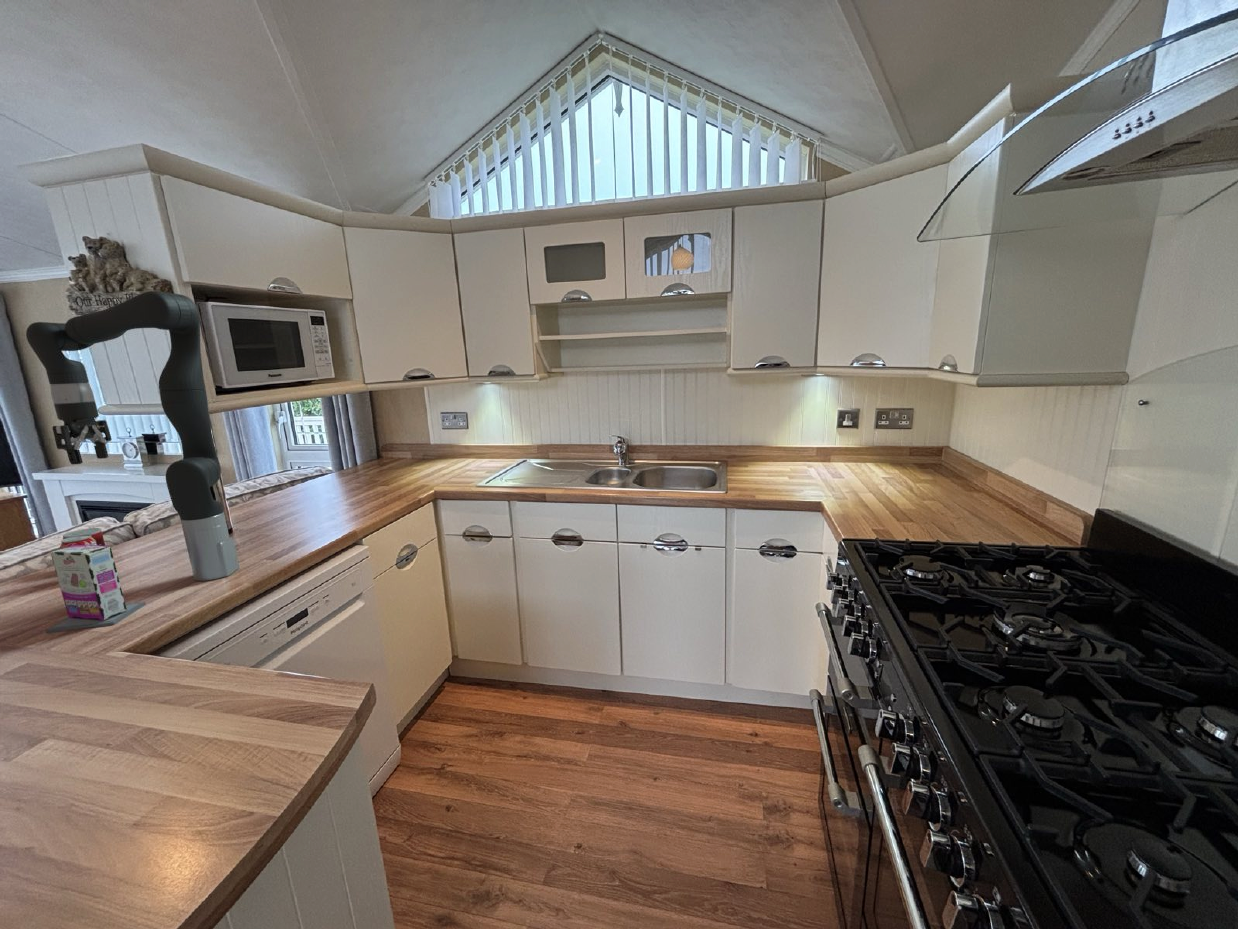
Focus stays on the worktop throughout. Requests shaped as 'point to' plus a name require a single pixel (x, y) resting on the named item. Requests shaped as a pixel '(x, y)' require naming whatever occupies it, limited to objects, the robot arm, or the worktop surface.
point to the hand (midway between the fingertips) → (90, 461)
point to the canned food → (94, 533)
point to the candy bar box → (89, 582)
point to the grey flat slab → (88, 623)
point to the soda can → (78, 541)
